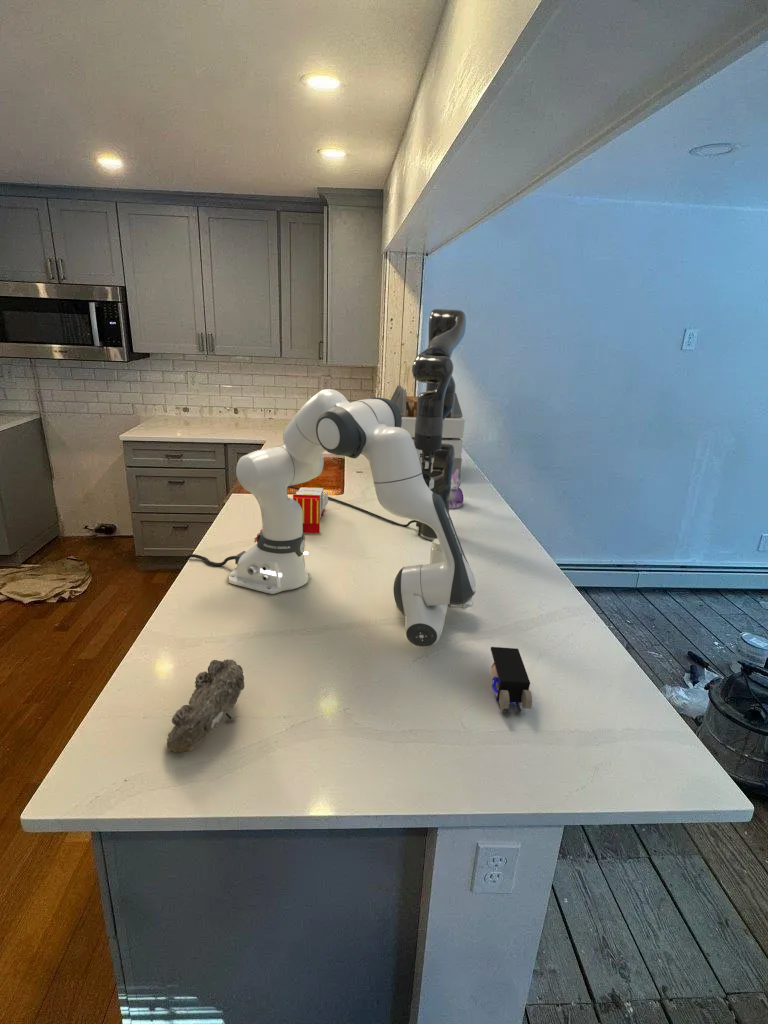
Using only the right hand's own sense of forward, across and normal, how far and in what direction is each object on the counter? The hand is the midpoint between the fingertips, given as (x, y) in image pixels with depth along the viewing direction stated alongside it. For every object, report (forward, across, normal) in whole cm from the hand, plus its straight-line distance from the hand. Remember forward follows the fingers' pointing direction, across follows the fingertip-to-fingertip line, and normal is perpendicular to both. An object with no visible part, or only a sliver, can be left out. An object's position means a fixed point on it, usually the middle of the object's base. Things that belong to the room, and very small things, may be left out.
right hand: (424, 490), depth 160 cm
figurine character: (+26, +55, +19) cm, 63 cm away
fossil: (+25, +68, -39) cm, 82 cm away
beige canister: (+26, +15, +4) cm, 31 cm away
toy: (+28, -40, -41) cm, 63 cm away
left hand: (+20, +14, +5) cm, 25 cm away
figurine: (+28, -66, +13) cm, 73 cm away
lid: (-3, 0, 0) cm, 3 cm away
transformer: (+30, -112, -1) cm, 116 cm away
